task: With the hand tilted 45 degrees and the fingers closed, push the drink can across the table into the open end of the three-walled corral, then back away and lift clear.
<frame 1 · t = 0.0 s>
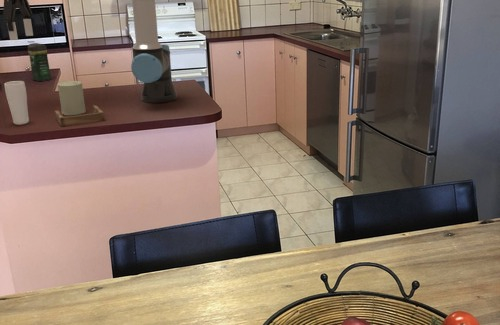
hand: (22, 37, 203), 28 cm above the table, tool pointing down, fingers open, 13 cm apart
drinking glass: (21, 123, 191), on the table
coffee jar: (42, 80, 267), on the table
corral: (79, 118, 195), on the table
can: (73, 112, 205), on the table
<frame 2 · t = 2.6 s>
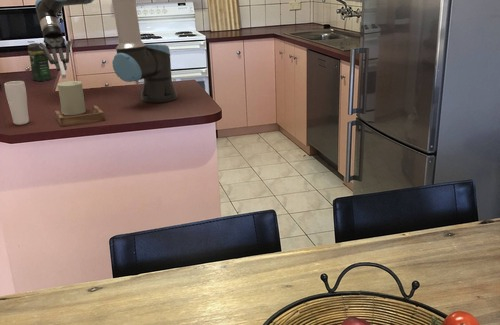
hand: (63, 76, 210), 12 cm above the table, tool tilted 45°, fingers closed
nothing on the table moved.
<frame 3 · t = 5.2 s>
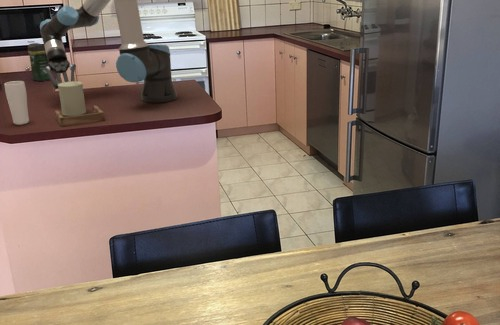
hand: (68, 101, 206), 3 cm above the table, tool tilted 45°, fingers closed
can: (74, 113, 203), on the table, touching gripper
everything else where it was.
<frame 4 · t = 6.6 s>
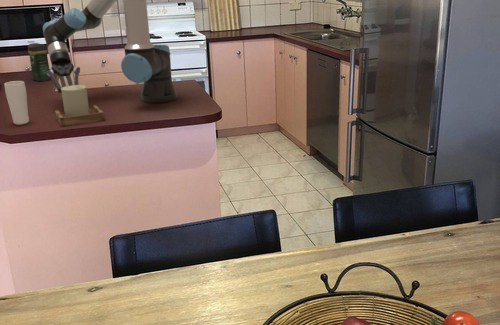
hand: (72, 105, 200), 4 cm above the table, tool tilted 45°, fingers closed
can: (77, 118, 197), on the table, touching gripper
everything else where it was.
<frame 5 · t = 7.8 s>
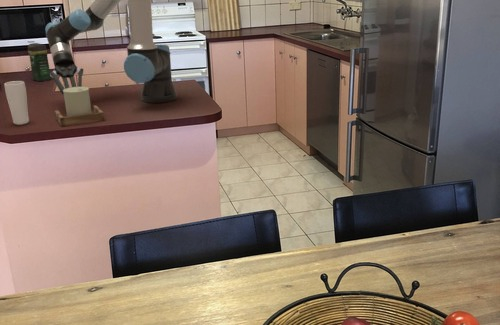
hand: (76, 107, 197), 4 cm above the table, tool tilted 45°, fingers closed
can: (80, 120, 194), on the table, touching gripper
everything else where it was.
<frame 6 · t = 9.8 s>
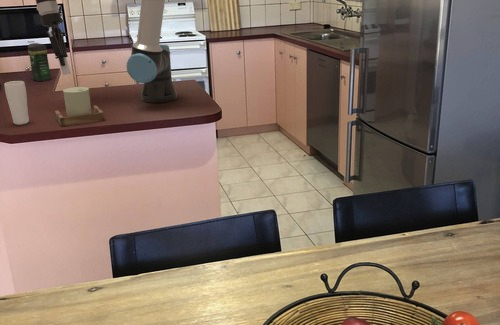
hand: (66, 74, 206), 14 cm above the table, tool pointing down, fingers closed
can: (80, 120, 194), on the table
everything else where it was.
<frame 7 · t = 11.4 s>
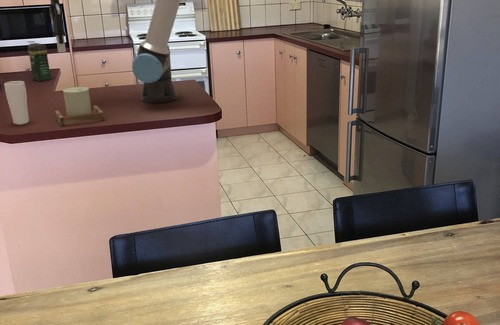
hand: (62, 52, 204), 22 cm above the table, tool pointing down, fingers closed
nothing on the table moved.
at the end: can 1.3 cm from the corral (horizontally); can tilted 0° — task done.
